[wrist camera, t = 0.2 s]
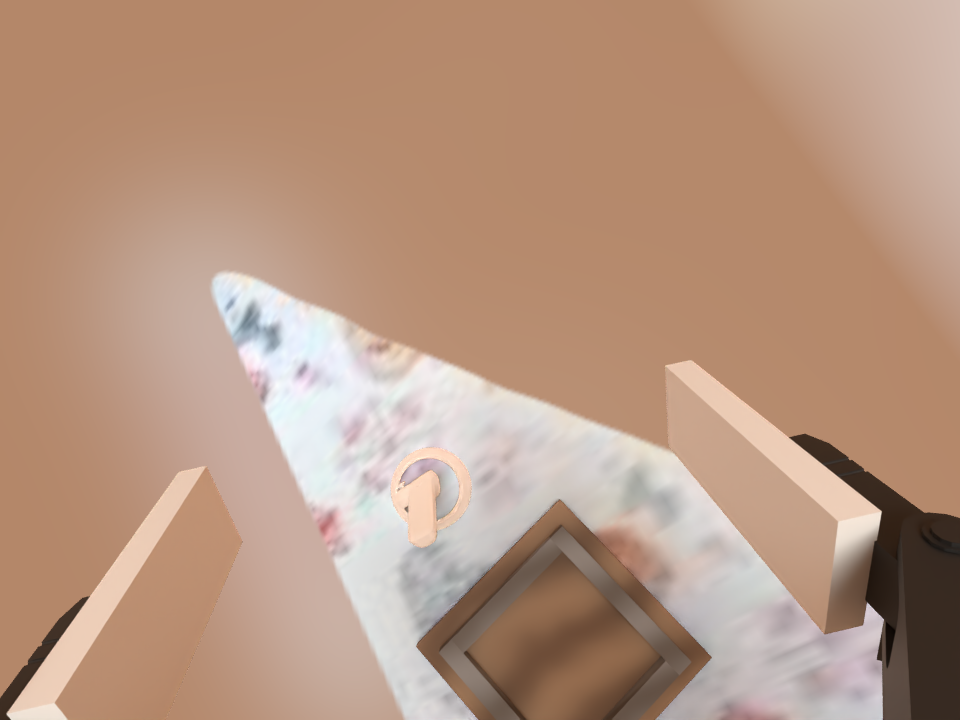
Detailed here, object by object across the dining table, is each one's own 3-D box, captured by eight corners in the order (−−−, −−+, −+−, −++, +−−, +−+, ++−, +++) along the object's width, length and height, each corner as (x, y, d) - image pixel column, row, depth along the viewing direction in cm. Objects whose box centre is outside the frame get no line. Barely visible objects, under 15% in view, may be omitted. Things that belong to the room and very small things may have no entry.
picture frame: (707, 653, 46) (717, 662, 43) (562, 811, 44) (565, 829, 42) (559, 499, 49) (562, 501, 46) (418, 642, 47) (413, 651, 45)
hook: (427, 613, 42) (368, 567, 40) (421, 512, 53) (374, 471, 50) (500, 563, 41) (445, 513, 38) (479, 471, 52) (434, 426, 49)
